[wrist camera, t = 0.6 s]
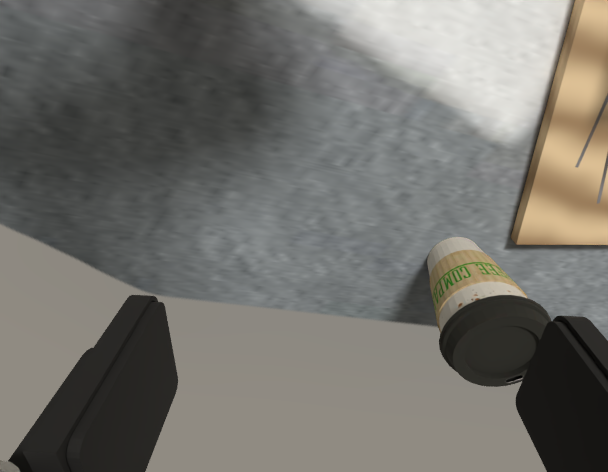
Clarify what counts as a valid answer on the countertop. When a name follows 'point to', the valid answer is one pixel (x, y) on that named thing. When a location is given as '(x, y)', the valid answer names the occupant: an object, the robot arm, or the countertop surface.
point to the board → (572, 142)
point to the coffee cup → (482, 315)
